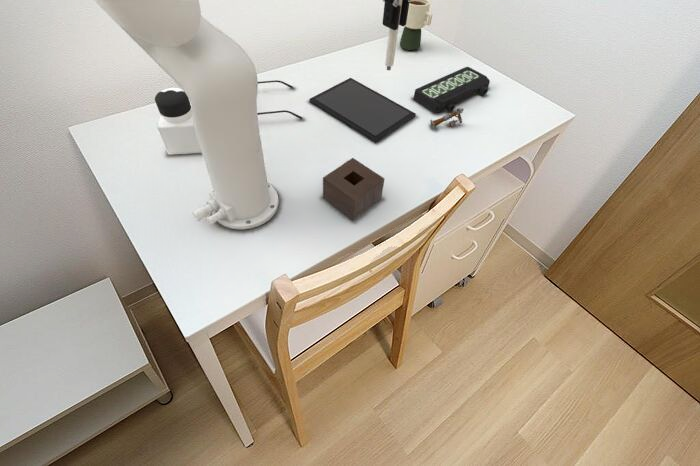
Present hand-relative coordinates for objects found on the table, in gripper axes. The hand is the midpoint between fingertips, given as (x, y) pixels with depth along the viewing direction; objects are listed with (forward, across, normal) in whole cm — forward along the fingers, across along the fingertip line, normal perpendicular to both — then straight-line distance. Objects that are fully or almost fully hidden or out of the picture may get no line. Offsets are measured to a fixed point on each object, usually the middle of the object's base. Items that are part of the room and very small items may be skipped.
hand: (394, 24), depth 69 cm
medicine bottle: (+24, -34, +26) cm, 49 cm away
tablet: (+25, +4, +10) cm, 27 cm away
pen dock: (+24, -19, -10) cm, 33 cm away
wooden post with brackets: (+25, +15, -8) cm, 30 cm away
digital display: (+25, +28, -2) cm, 37 cm away
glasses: (+25, -13, +26) cm, 38 cm away
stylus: (+9, 0, 0) cm, 9 cm away
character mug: (+25, +39, +22) cm, 52 cm away
